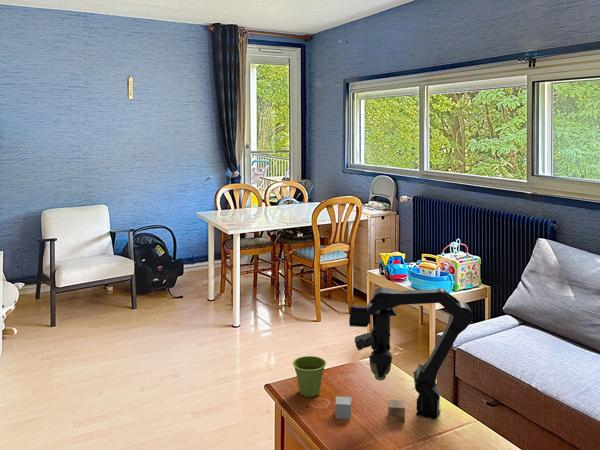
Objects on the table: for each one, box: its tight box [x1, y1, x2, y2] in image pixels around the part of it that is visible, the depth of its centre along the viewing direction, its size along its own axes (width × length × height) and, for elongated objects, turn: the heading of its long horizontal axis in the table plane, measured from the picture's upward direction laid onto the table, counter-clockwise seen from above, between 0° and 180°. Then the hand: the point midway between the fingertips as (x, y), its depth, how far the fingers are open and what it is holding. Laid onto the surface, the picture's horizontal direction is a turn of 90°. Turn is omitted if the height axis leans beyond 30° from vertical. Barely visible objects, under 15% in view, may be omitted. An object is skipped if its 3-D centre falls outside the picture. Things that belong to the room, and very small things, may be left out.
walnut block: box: [387, 399, 406, 423], centre depth 169 cm, size 5×5×5 cm
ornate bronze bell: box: [368, 354, 393, 381], centre depth 173 cm, size 8×7×8 cm
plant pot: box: [292, 355, 327, 398], centre depth 186 cm, size 12×12×11 cm
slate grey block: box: [334, 396, 352, 420], centre depth 172 cm, size 5×5×5 cm
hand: (380, 372), depth 173 cm, fingers closed on ornate bronze bell, 6 cm apart
